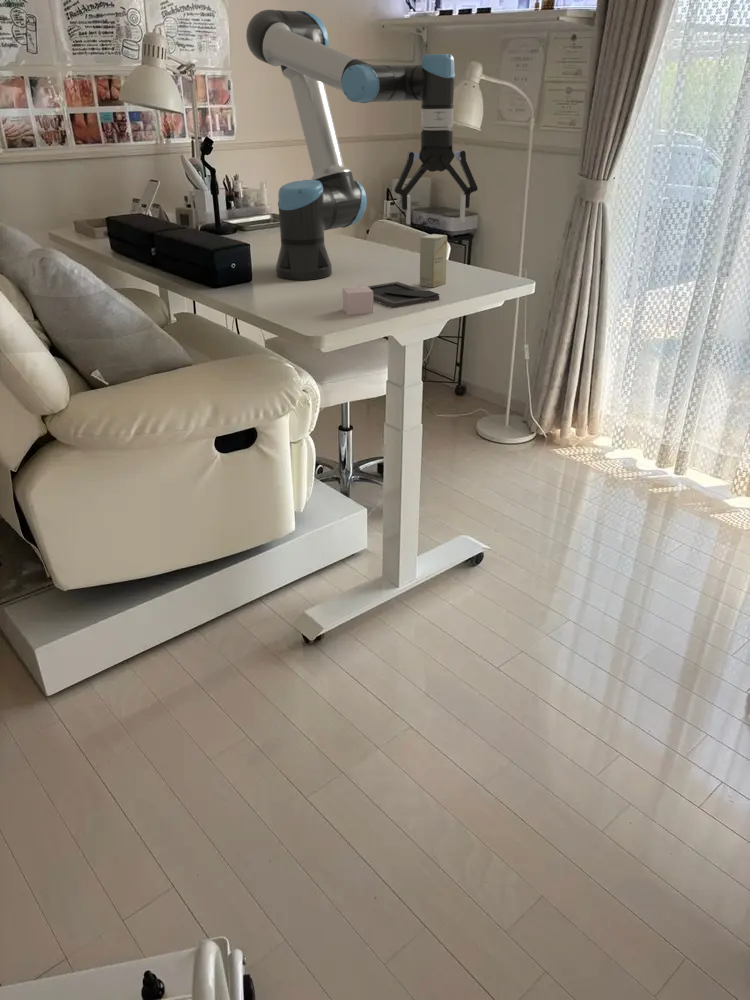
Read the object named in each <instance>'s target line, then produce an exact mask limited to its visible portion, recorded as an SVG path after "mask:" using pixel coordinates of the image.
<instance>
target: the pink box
mask: <svg viewBox="0 0 750 1000" xmlns="http://www.w3.org/2000/svg"><path fill="white" fill-rule="evenodd" d="M368 286H369V285H368ZM368 286H367V287H366V286H354V287H343V288H341V289H342V294H341V295H342V310H343V311H344V313H346V316H353V315H363V314H364V315H367V314H374V300H373V291H372V290H371V289H370V288H369V287H368Z"/></svg>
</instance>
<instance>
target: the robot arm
mask: <svg viewBox="0 0 750 1000" xmlns="http://www.w3.org/2000/svg"><path fill="white" fill-rule="evenodd" d="M245 36H246V43H247V46H248V49H249V51H250V53H251V54H252V55H253V56H254V57H255V58H256V59H258V60H259V61H261V62H264V63H266V64H268V65H270V66H274V67H279V66H280V69H281V73H282V75H283V76H284V77H285V78H286V79H288V80H289V81H290V86H291V89H292V94H293V96H294V97H293V98H294V101H295V105H296V108H297V113H298V116H299V117H298V118H299V120H300V125H301V127H302V132H303V137H304V140H305V141H304V142H305V143H306V148H307V151H308V156H309V160H310V164H311V166H312V171H313V172H312V173H313V175H312V177H311V179H303V180H297V181H292V182H288V183H286V184H283V185H281V186H280V187H279V189H278V202H277V207H278V215H279V232H280V234H279V235H280V249H279V254H278V257H277V261H276V265H275V273H276V276H277V277H279V278H281V279H285V280H294V281H296V280H297V281H306V280H319V279H323V278H327V277H330V276H331V275H332V274H333V271H332V270H333V268H332V267H333V265H332V263H331V262H332V261H331V259H330V256H329V254H328V251H327V248H326V246H325V245H326V243H325V231H328V230H335V229H339V228H342V229H343V228H344V229H345V228H348V227H350V226H353V225H356V224H357V223H359V222H360V221H361V220H362V219H363V217H364V213H365V212H366V209H367V202H368V201H367V199H368V198H367V194H366V189H365V188H364V187H363V185H362V184H361V183H360V182H358V181H357V180H354V177H353V173H352V170H351V169H350V168H348V166H345V162H344V160H343V156H342V150H341V146H340V142H339V139H338V134H337V129H336V126H335V123H334V122H335V121H334V119H333V118H334V117H333V114H332V110H331V105H330V101H329V97H328V93H327V89H326V85H328V86H329V87H332V88H333V89H336V90H338V91H340V92H342V93H343V94H344V96H345V97H346V99H347V100H349V101H350V102H353V103H359V104H367V103H380V102H406V101H407V102H410V101H411V102H412V101H415V102H417V101H420V102H421V103H420V104H421V117H420V127H421V128H422V130H421V131H420V150H419V152H413V151H411V150H410V151H408V152H407V158H406V163H405V165H404V167H403V169H402V171H401V173H400V175H399V178H398V180H397V182H396V185H395V187H394V189H393V191H394V192H395V194H398V195H400V196H401V208H402V210H404V211H405V224H406V225H411V195H410V193H411V191H412V190H413V188H414V187H415V186H416V184H417V183H418V181H419V180H420V179H421V178H422V177H423V175H424V174H425V173H426V172H427V171H428V172H432V173H434V172H437V171H438V172H444V171H445V170H446V171H447V172H448V173H449V174H450V176H451V177H452V179H453V180H454V181H455V182H456V184H457V185H458V186H459V188H460V189H461V190H462V191H463V193H460V199H459V200H460V205H459V222H460V223H462V224H465V221H466V209H469V208H470V200H471V199H470V198H471V194H472V193H474V192H477V191H478V185H477V183H476V180H475V178H474V176H473V174H472V172H471V169H470V167H469V164H468V161H467V155H466V151H465V150H463V149H459V151H454V149H453V145H454V144H453V142H454V141H453V140H454V138H453V136H454V135H453V134H454V131H453V129H451V128H452V127H453V126H454V93H455V92H454V91H455V80H456V73H455V59H454V56H453V55H452V54H449V53H429V54H424V55H423V56H422V59H421V63H420V64H404V65H403V64H395V65H394V64H389V65H388V64H387V65H386V64H382V65H381V64H380V65H379V64H371V63H369V62H365V61H363V60H361V59H358V58H356V57H354V56H352V55H349V54H347V53H345V52H342V51H339V50H337V49H334V48H332V47H329V45H330V44H329V43H330V42H329V41H330V40H329V33H328V30H327V29H326V25H325V24H324V22H323V21H322V20H321V18H319V17H318V16H317V15H315V14H314V13H312V12H306V11H304V10H296V11H295V10H281V9H280V10H279V9H263V10H261V11H259V12H257V13H256V14H254V15H253V16H252V18H251V19H250V21H249V22H248V25H247V28H246V35H245ZM454 158H456V160H457V161H458V162H459V163H460V166H461V169H462V170H463V173H464V175H465V178H466V181H467V182H468V184H469V187H468V185H467V184H466V183H465V182H464V180H463V179H462V177H460V175H459V174H458V173H457V171H456V169H455V168H454V167H453V166H452V165H451V163H452V161H453V159H454ZM418 159H419V160H420V162H421V165H420V166H419V168H418V169H417V171H416V172H415V174H414V175H413V176H412V177H411V179H409V181H408V182H407V184H406V185H405V186H404V184H405V182H406V179H407V178H408V176H409V173H410V171H411V168H412V167H413V164H414V163H415V162H416V161H417V160H418Z"/></svg>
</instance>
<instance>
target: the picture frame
mask: <svg viewBox="0 0 750 1000" xmlns="http://www.w3.org/2000/svg"><path fill="white" fill-rule="evenodd" d="M365 287H367V286H365ZM368 287H369V288H370V289H371V290H372V291H373V301H374V300H375V301H374V302H376V301H377V302H376V303H379V302H380V304H382V305H385V306H387V307H389V306H390V308H392V309H396V308H400V307H407V306H412V305H413V306H414V305H419V304H425V303H430V302H429V301H431V302H436V301H440V293H438V292H434V291H431V290H424V289H420V288H417V287H415V286H411V285H408V284H406V283H402V282H399V281H394V282H388V283H387V282H386V283H380V284H374V285H368Z"/></svg>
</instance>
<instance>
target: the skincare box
mask: <svg viewBox="0 0 750 1000" xmlns="http://www.w3.org/2000/svg"><path fill="white" fill-rule="evenodd" d="M419 242H420V250H419V251H420V252H419V253H420V254H419V257H420V258H419V286H421V287H428V288H435V287H438V286H443V285H445V284H446V283H447V281H446V280H447V255H448V253H447V251H448V235H446V234H437V233H431V234H428V235H427V234H426V235H424V236H420V241H419ZM442 284H443V285H442Z"/></svg>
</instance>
